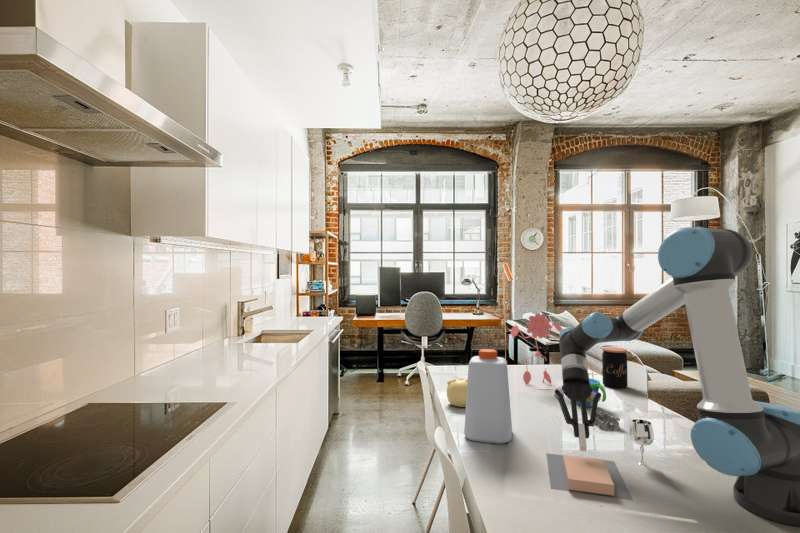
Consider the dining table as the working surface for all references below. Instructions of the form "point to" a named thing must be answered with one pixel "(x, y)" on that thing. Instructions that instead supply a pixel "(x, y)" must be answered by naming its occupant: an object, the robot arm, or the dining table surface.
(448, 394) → the sculpture
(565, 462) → the peach rectangular block
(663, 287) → the robot arm
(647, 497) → the dining table surface
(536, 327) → the pink flower
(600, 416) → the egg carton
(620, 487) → the mat
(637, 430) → the wineglass
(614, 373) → the coffee jar
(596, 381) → the snack cup
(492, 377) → the plastic bottle
